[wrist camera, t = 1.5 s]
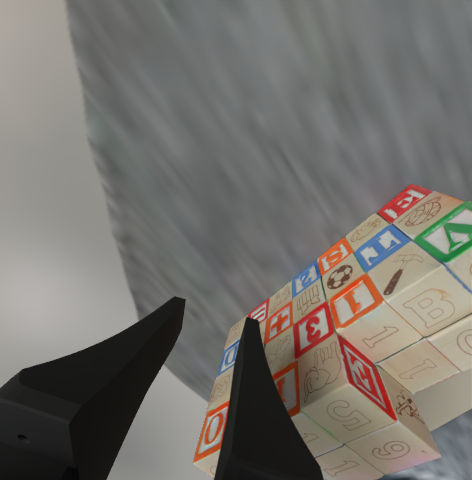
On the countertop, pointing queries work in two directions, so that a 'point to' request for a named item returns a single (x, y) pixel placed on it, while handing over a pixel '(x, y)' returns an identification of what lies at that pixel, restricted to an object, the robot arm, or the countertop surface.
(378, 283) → the stack of blocks
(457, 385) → the mat
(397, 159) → the countertop surface
